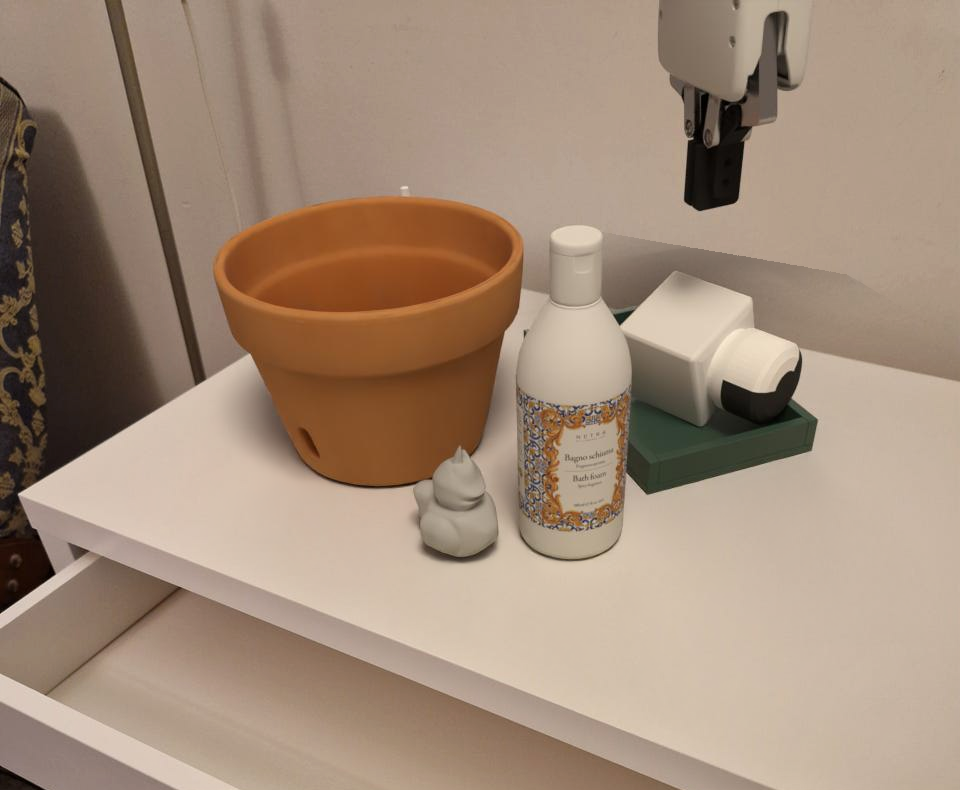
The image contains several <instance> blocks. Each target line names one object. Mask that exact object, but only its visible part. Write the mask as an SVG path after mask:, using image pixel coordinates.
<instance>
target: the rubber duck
mask: <svg viewBox="0 0 960 790" xmlns="http://www.w3.org/2000/svg"><path fill="white" fill-rule="evenodd" d="M431 478H432V479H424V480H420V481H417V482H416V484H415V485H414V486H413V488H412V492H413V494H412V495H413V497H414V499H415V501H416V505H417V508H418V515H419V517H420V521H419V532H420V537H421V539H422V541H423V542H424V544H425V545H427V546H429V547H431V548H432V549H435V550H436V551H438V552H440V553H443V554H448V555H450V556H453V557H457V558H466V557H470V556H473V555H476V554H478V553H480V552H482V551H483V550H485V549H486V548H488V547H489V546H490V545H491V544H493V543H494V542H495V541H496V540H497V539H498V537H499V530H500V529H499V520H498V515H497V514H498V513H497V508H496V504H495V501H494V499H493V497H492V496H491V494H490V493H489V492H488V491H486V482H485V479H484V476H483V474H482V471H481V469H480V467H479V466H478V465H477V464H476V462H475V461H474V460H473V459H472V458H471V457H470V455H468V454H467V452H466V451H465V450H464V449H463V450H461V446H459V447H458V449H457V451H456V453H455V455H454V457H452V458H450V459H447V460H446V461H444V462H443V463H442V464H440V465H439V467H438V468H437V469H436V470H435V472H434V474H433V477H431Z"/></svg>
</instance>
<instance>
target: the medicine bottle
mask: <svg viewBox="0 0 960 790" xmlns="http://www.w3.org/2000/svg"><path fill="white" fill-rule="evenodd" d="M639 305H640V306H639V307H638V308H637V309H636V310H635V311H634V312H633V313H632V314H631V315H630V316H629V317H628V318H627V319H626V320H625V321H624V322H623V323H622V324H621V325H620V328H621V330H622V332H623V334H624V336H625V339H626V341H627V345H628V348H629V352H630V358H631V366H632V388H631V396H633V397H634V398H637V399H639V400H641V401H643V402H646V403H648V404H650V405H652V406H654V407H657V408H659V409H661V410H663V411H665V412H668V413H670V414H672V415H674V416H676V417H679V418H681V419H683V420H685V421H687V422H690V423H692V424H694V425H696V426H699V427H702V426H704V425H705V424H706V423H707V422H708V421H709V420H710V419H711V418H712V417H713V416H714V414H715V413H716V412H717V411H718V410H719V409H723V410H725V411H727V412H730V413H732V414H734V415H737V416H739V417H741V418H743V419H746V420H748V421H750V422H753V423H755V424H759V425H760V424H764V423H767V422H770V421H771V420H773V419H774V418H775V417H777V416H778V415H779V414H780V413H781V411H782V410H783V409H784V408H785V407H786V405H787V404H788V403H789V401H790V400H791V398H792V399H793V396H794V395H795V392H796V390H797V387H798V385H799V383H800V379H801V373H802V369H803V355H802V352H801V350H800V347H799V345H798V344H797V343H795V342H793V341H790V340H788V339H785V338H782V337H780V336H778V335H774V334H772V333H769V332H766V331H764V330H761V329H759V328H756V327H755V315H754V313H755V312H754V301H753V298H752V297H751V296H750V295H746V294H743V293H741V292H738V291H736V290H733V289H730V288H727V287H725V286H721V285H719V284H716V283H712V282H710V281H707V280H705V279H702V278H698V277H696V276H693V275H691V274H688V273H685V272H682V271H679V270H674V271H673V272H671V273H670V275H669V276H668V277H666V279H664V281H662V283H661V284H659V286H658V287H657V288H656V289H654V291H653V292H652V293H651V294H650V295H649V296H647V298H646V299H644V301H643V302H642V303H641V304H639Z"/></svg>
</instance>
